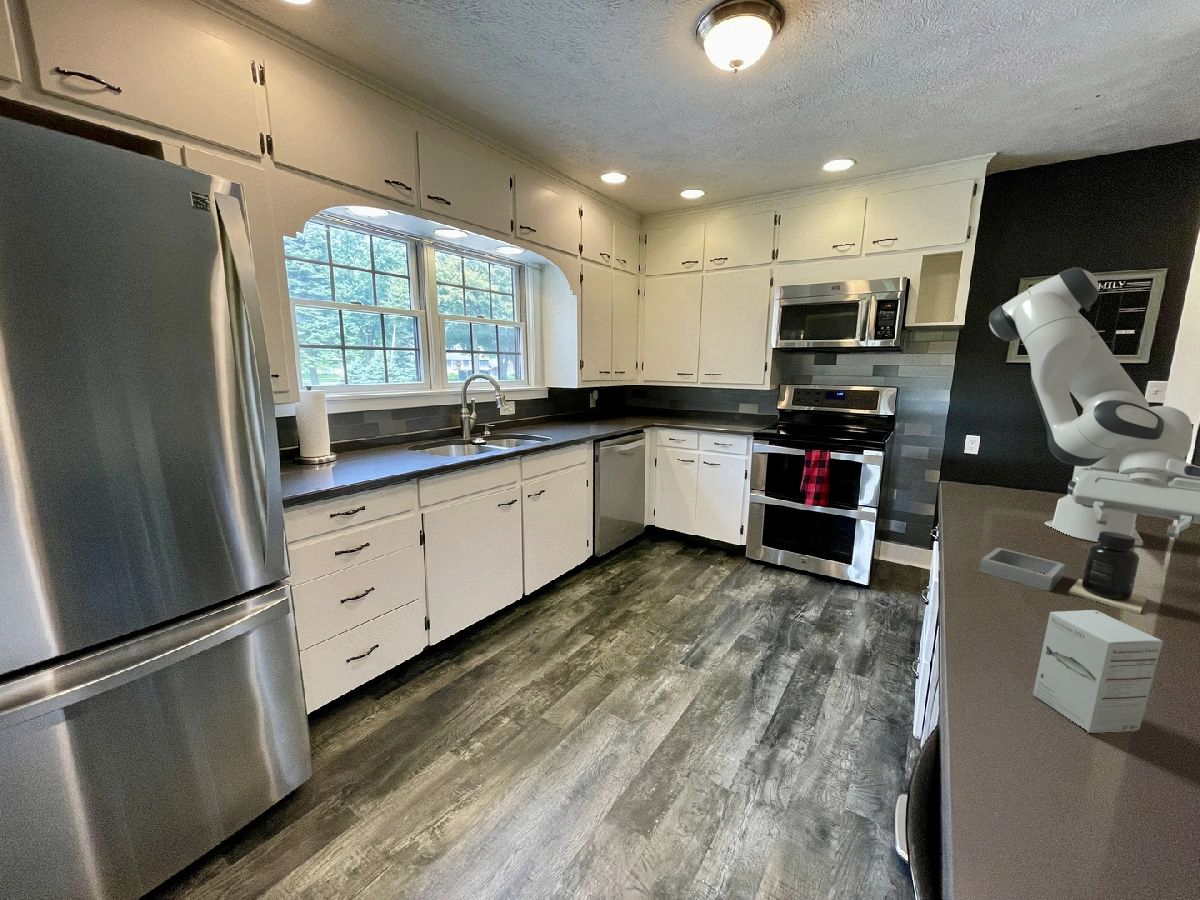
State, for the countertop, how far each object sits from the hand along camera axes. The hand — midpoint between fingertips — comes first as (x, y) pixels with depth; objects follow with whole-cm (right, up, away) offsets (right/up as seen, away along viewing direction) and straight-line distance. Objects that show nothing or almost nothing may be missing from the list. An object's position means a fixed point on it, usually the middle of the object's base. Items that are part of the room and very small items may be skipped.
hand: (1135, 529), depth 95 cm
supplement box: (-43, -19, -32) cm, 57 cm away
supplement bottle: (-6, -13, 0) cm, 14 cm away
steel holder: (-15, -11, +9) cm, 21 cm away
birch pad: (-6, -13, 0) cm, 15 cm away
